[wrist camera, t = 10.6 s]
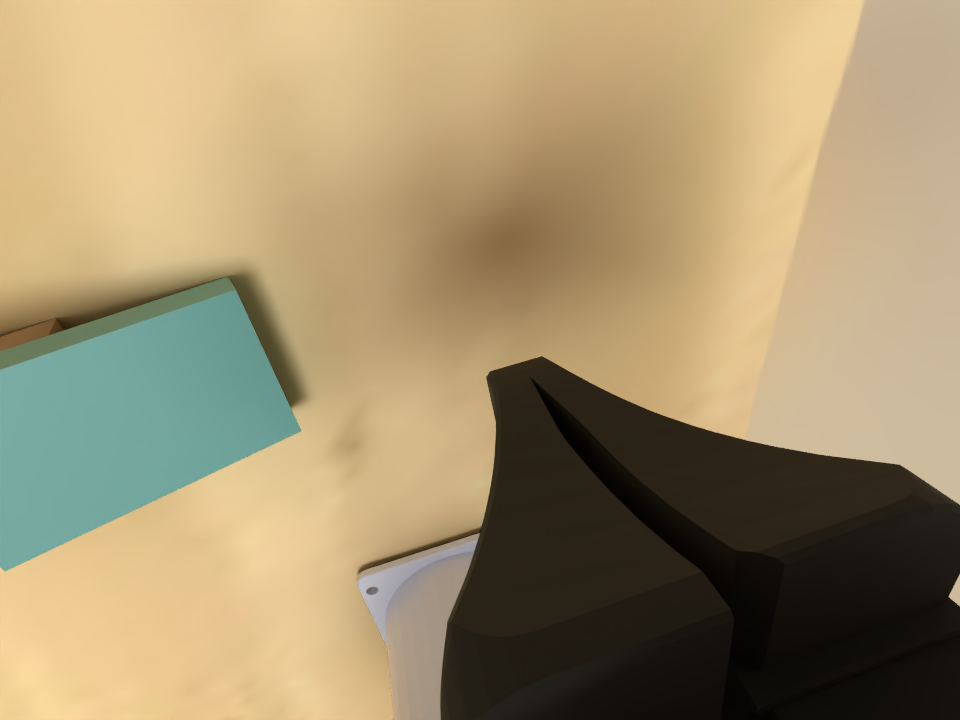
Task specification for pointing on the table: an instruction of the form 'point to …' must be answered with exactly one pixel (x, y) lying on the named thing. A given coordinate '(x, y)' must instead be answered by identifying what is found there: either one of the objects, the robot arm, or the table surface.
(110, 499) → the teal domino
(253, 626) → the table surface
